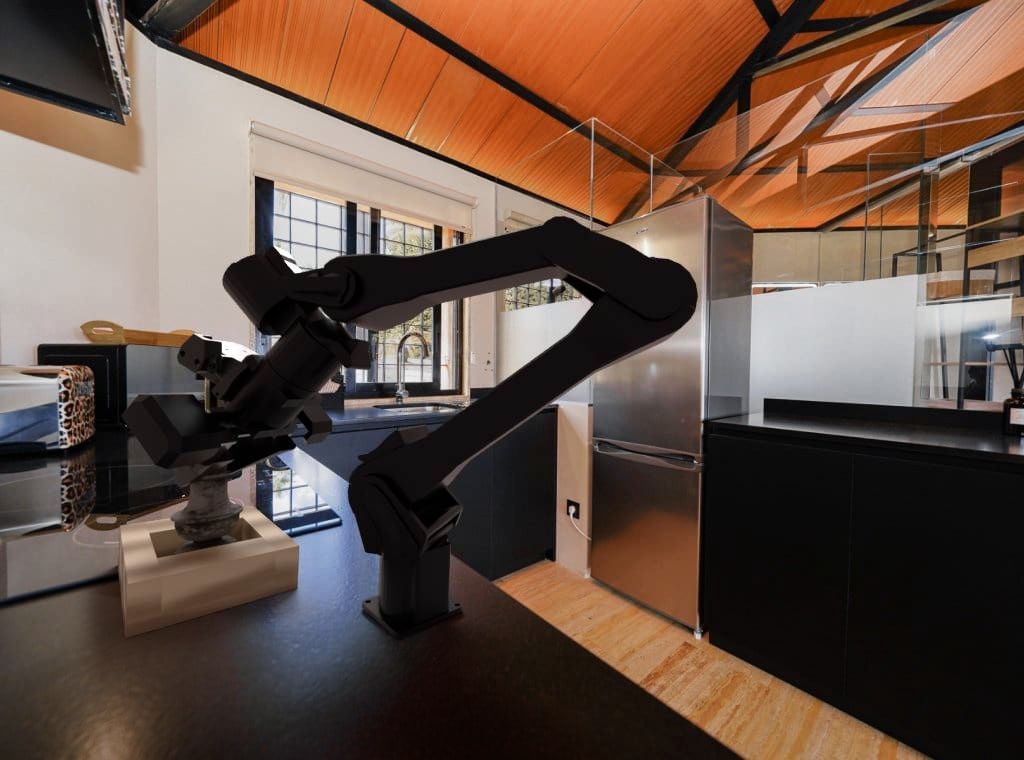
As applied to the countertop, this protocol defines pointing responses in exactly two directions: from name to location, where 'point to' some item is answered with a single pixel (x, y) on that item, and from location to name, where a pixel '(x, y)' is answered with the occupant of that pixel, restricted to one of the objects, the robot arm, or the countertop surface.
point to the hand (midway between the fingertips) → (198, 479)
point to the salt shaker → (207, 514)
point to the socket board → (200, 571)
